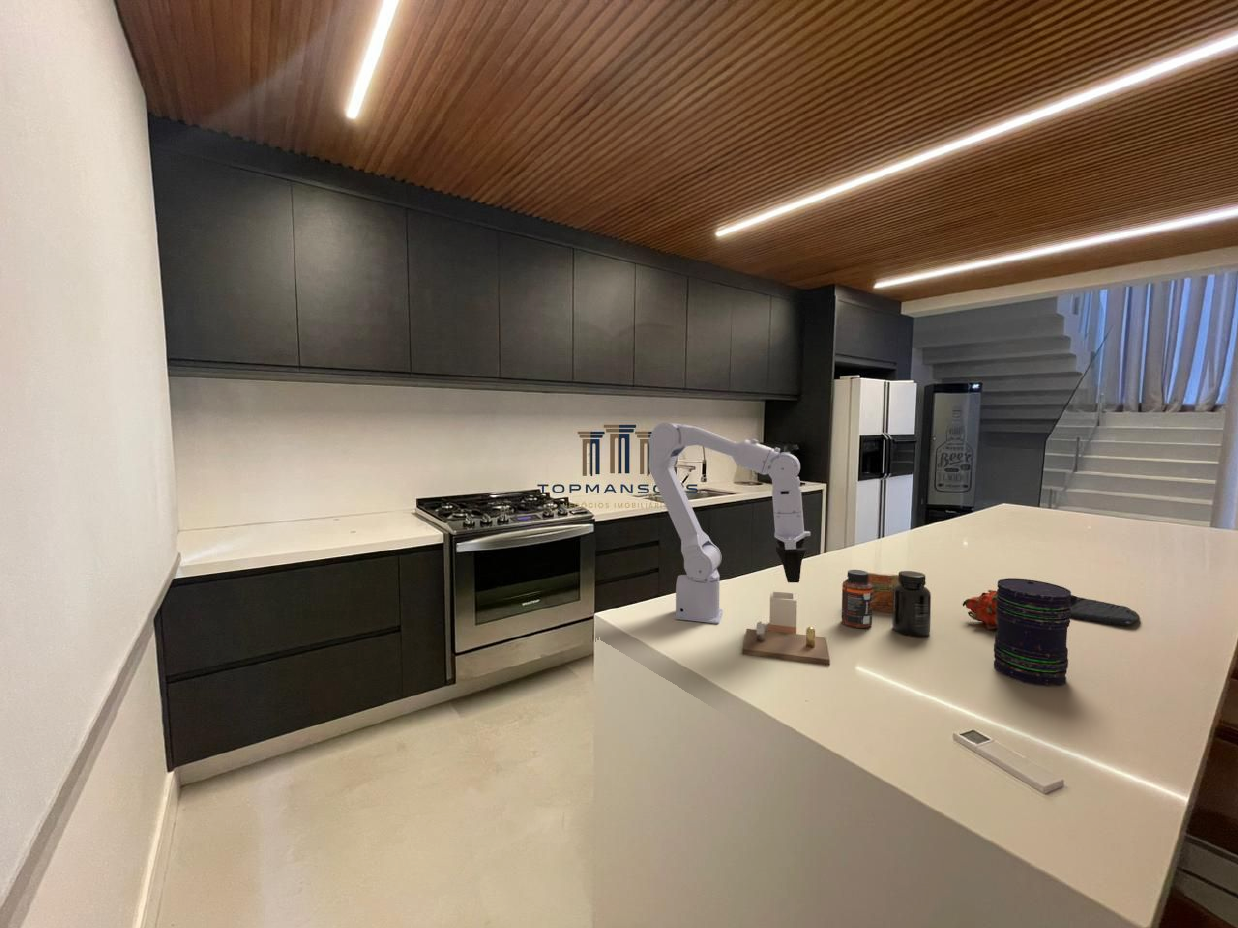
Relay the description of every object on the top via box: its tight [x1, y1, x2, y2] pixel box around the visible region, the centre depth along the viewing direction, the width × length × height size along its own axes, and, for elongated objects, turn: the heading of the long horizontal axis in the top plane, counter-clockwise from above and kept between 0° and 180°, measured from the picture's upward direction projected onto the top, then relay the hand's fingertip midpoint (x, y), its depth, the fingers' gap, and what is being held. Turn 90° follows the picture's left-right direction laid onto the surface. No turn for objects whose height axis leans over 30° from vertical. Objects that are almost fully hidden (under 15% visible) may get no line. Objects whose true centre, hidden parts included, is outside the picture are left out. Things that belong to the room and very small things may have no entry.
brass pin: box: [805, 626, 816, 648], centre depth 96 cm, size 2×2×4 cm
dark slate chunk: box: [1070, 594, 1140, 626], centre depth 116 cm, size 15×22×5 cm
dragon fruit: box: [962, 589, 998, 631], centre depth 106 cm, size 8×8×12 cm
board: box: [742, 628, 831, 666], centre depth 98 cm, size 15×10×1 cm, turn 72°
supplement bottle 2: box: [891, 570, 932, 638], centre depth 105 cm, size 7×7×12 cm
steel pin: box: [756, 621, 766, 642], centre depth 99 cm, size 2×2×4 cm
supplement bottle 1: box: [841, 569, 874, 629], centre depth 109 cm, size 6×6×11 cm
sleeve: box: [768, 590, 798, 634], centre depth 107 cm, size 5×5×7 cm
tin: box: [868, 572, 899, 614], centre depth 117 cm, size 15×3×8 cm, turn 68°
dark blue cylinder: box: [993, 577, 1072, 688], centre depth 87 cm, size 10×10×15 cm
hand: (793, 576), depth 106 cm, fingers open, 7 cm apart
